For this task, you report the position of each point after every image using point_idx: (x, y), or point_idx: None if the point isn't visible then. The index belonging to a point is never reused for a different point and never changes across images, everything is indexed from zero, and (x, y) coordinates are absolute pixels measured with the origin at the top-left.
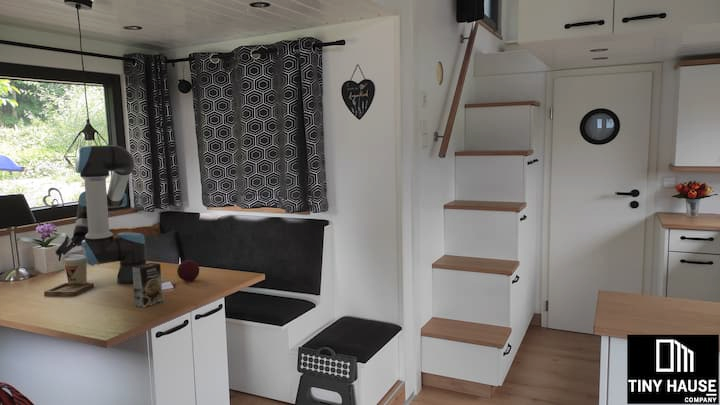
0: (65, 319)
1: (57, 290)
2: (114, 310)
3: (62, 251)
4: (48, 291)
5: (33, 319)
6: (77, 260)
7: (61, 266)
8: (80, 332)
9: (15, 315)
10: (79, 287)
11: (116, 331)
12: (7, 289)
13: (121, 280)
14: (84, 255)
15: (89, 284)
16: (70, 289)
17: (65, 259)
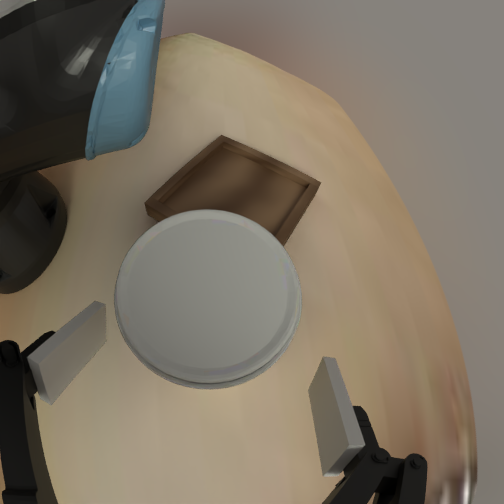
0: (233, 63)
1: (281, 203)
2: (157, 67)
3: (367, 472)
4: (305, 174)
5: (285, 78)
6: (190, 212)
7: (318, 372)
8: (214, 41)
9: (326, 102)
10: (200, 203)
11: (177, 37)
12: (459, 350)
13: (58, 192)
14: (149, 101)
15: (161, 191)
16: (233, 193)
17: (293, 278)
